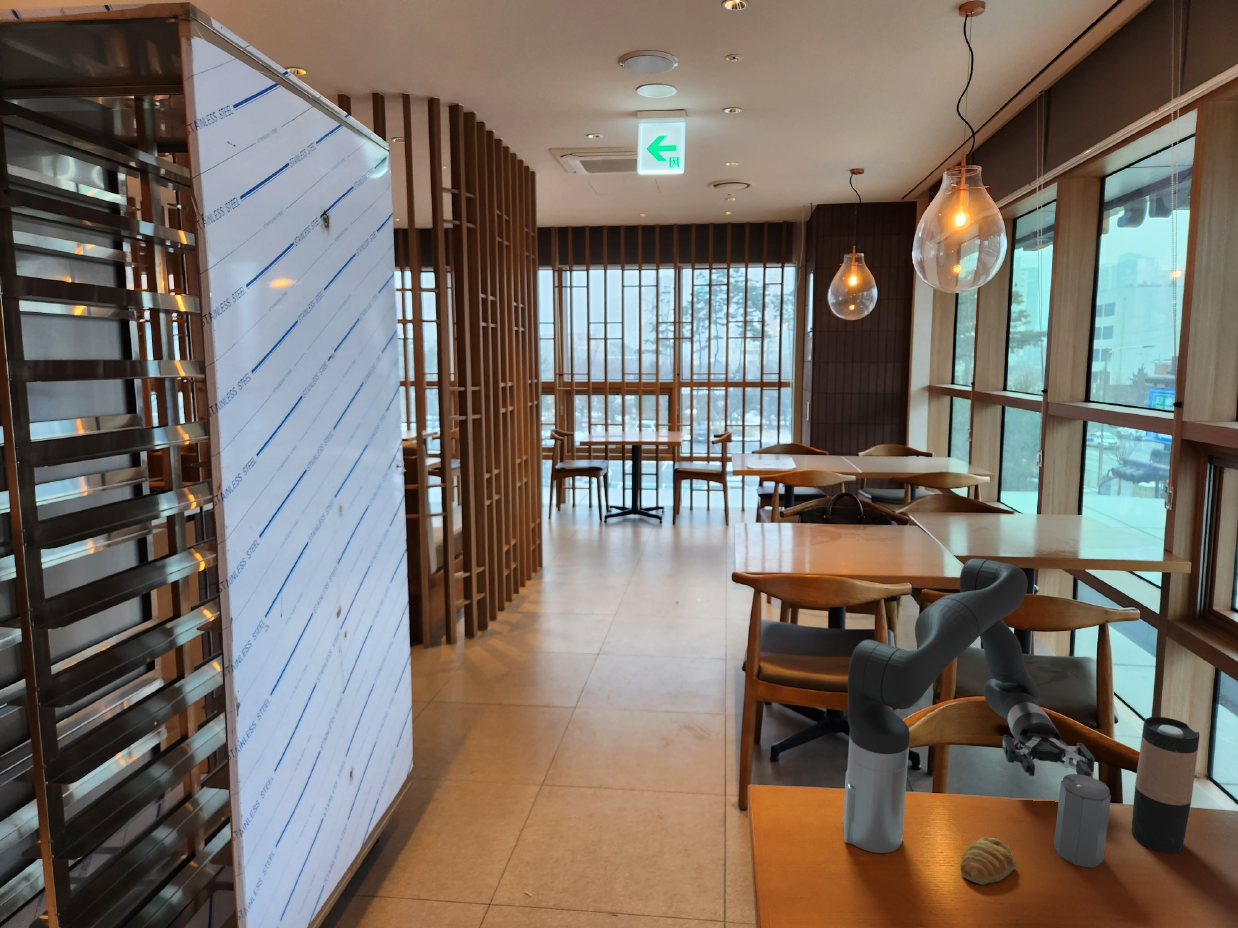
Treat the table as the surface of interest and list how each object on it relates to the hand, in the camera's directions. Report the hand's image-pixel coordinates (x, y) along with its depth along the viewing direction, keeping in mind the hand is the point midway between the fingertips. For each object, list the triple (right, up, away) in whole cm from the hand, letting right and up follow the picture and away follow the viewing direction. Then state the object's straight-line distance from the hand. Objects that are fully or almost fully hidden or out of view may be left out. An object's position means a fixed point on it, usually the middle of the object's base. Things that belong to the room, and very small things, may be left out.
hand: (1059, 774), depth 138 cm
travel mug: (+13, -8, -6) cm, 16 cm away
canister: (-3, -9, -10) cm, 14 cm away
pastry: (-19, -10, -14) cm, 26 cm away
